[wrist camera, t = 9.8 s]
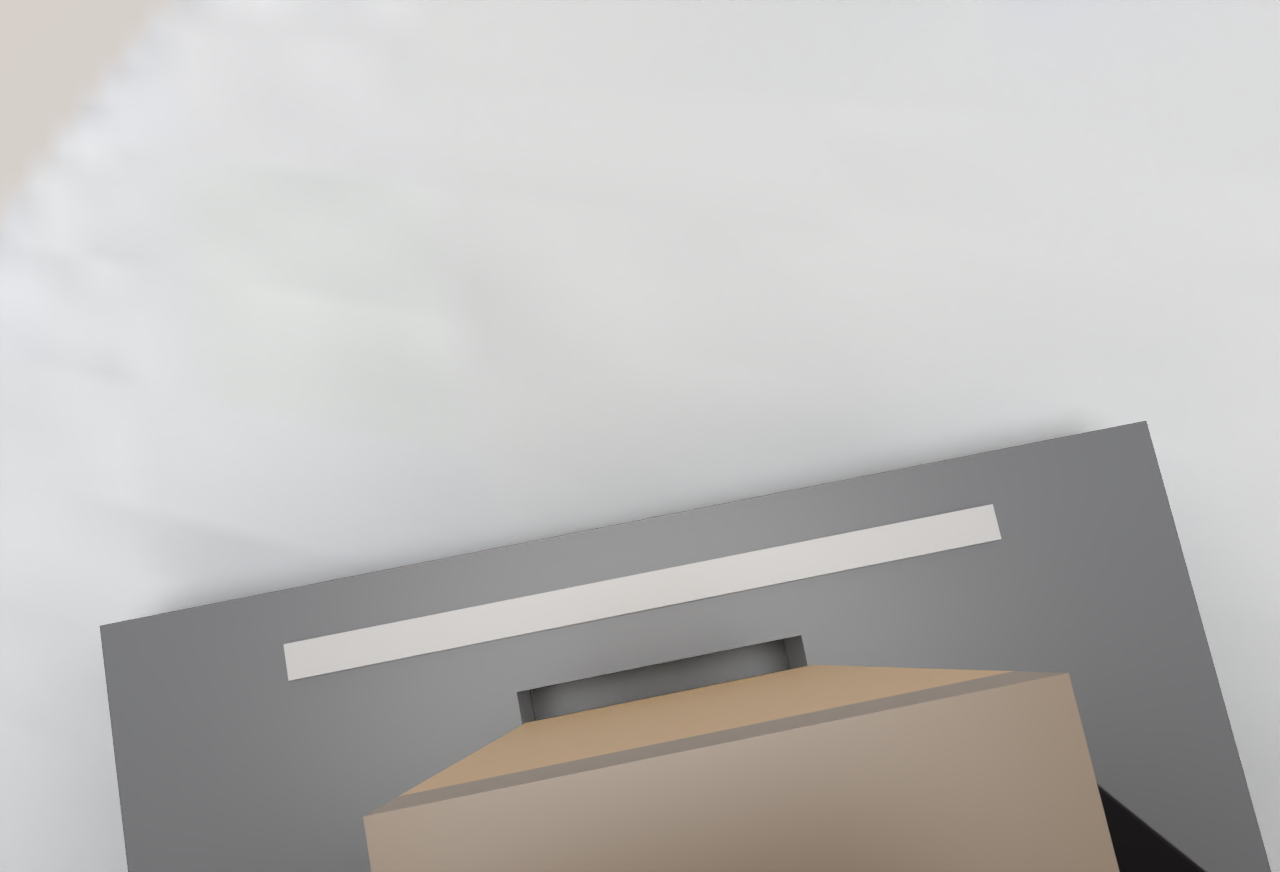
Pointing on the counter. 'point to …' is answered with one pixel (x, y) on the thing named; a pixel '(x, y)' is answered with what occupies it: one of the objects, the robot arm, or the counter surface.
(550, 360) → the counter surface
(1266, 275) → the counter surface
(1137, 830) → the robot arm
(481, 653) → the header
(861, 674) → the plug
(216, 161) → the counter surface
